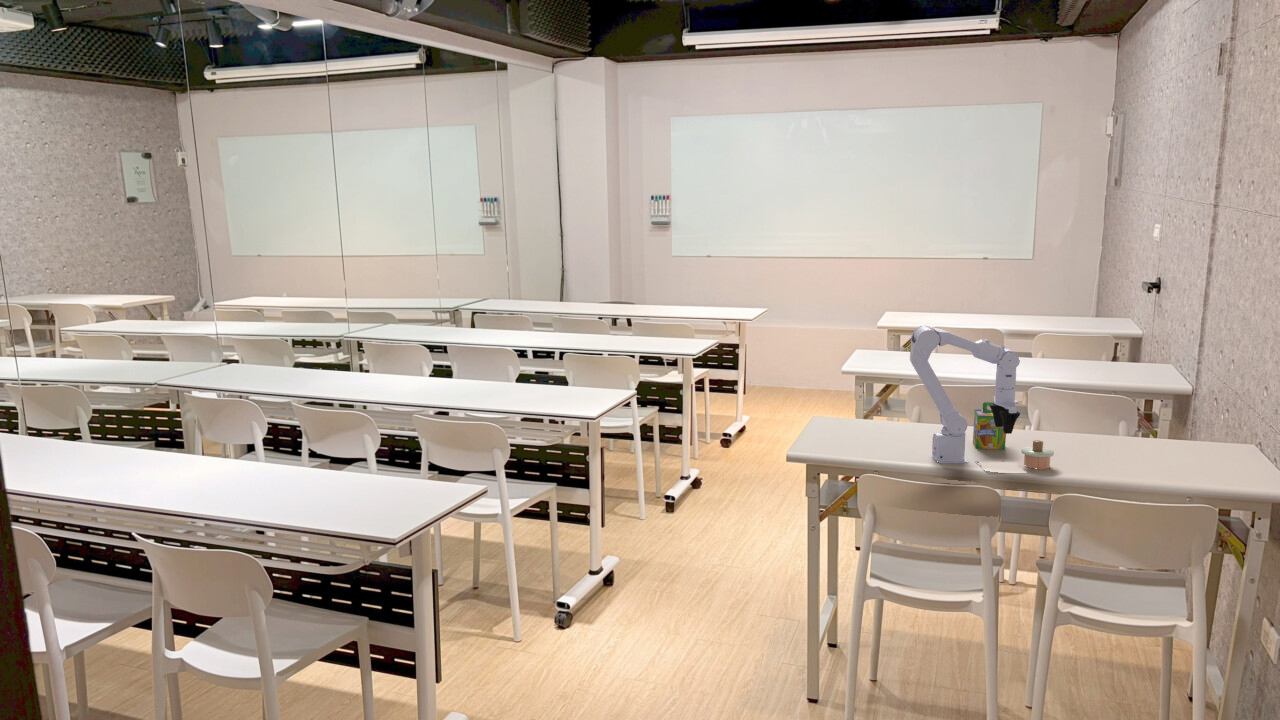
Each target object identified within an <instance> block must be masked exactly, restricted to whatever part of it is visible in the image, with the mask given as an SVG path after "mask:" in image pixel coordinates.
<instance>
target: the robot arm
mask: <svg viewBox="0 0 1280 720" xmlns="http://www.w3.org/2000/svg"><path fill="white" fill-rule="evenodd" d="M947 345H950V346H952V347H957V348H959V349H962V350H966V351H969V352H971V354H972V356H973V357H974V358H976V359H979V360H982V361H985V362H988V363H990V364H993V365H995V364H996V372H995V387H994V388H995V390H994V395H993V396H992V402H994V404H989V406H988V407H989V408H990V410H992V413H993V417H994V422H995V426H996V427H1003V431H1004V433H1005V434H1006V435H1007V434H1010V435H1011V434H1013V433H1012V432H1013V430H1014V427H1015V424H1016V422H1017V420H1018V419H1019V417H1020V415H1021V412H1020V411H1017V410H1018V409H1017V406H1016V405H1018V404H1020V402H1019V400H1016V386H1017V385H1016V383H1017V367H1018V366H1019V365H1020V363H1021V360H1020V358H1019V355H1018V354H1017V352H1015V351H1013V350H1012V349H1010V348H1008V347H1007V346H1005V345H998V344H995V343H992V342H991V340H989V339H986V338H985V339H979V340H977V341H973V340H971V339H968V338H966V337H963V336H960V335H958V334H955V333H953V332H950V331H948V330H944V329H941V328H938V327H932V328H931V327H930V326H928V325H925V324H923V325H919V326H918V327H916V328H915V329H914V330H913V333H912V334H911V337H910V351H909V361H910V363H911V365H912V367H913V368H914V370H915V372H916V374H917V375H918V378H919V379H920V381H921V383H922V384H923V387H924V388H925V389H926V391H927V393H928V395H929V397H930V398H931V400H932V402H933V403H934V406H935V407H936V408H937V409H936V410H937V411H938V413H939V416H940V423H941V424H942V426H943V427H942V428H941V429H940V432H936V433H933V436H932V442H931V443H932V445H931V446H932V449H931V450H932V451H931V455H932V456H933V457H932V456H931V457H932V458H933V459H934V461H935V462H936V461H938V462H939V463H938V464H969V462H970V461H968V460H967V458H966V457H965V455H966V452H965V451H966V450H965V449H966V431H967V429H968V422H967V420H966V419H965V417H964V416H962V414H961V413H960V412H959V411H958V410H957V409H956V407H955V405H954V404H953V402H952V401H951V399H950V397H949V396H948V394H947V393H946V390H945V389H944V387H943V385H942V384H941V381H940V379H939V378H938V377H937V375H936V373H935V371H934V370H933V367H932V366H931V364H930V362H929V359H930V356H931V355H932V353H933V351H935V349H936V348H937V347H938V346H939V347H944V346H947Z"/></svg>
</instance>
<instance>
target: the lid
mask: <svg viewBox="0 0 1280 720" xmlns="http://www.w3.org/2000/svg"><path fill="white" fill-rule="evenodd" d="M1020 450H1021V453H1022V454H1023V455H1024V456H1025V455H1028V456H1032V457H1050V458H1052V457H1054V456H1055V455H1054V454H1055V452H1054V450H1052V449H1050V448H1047V447H1044V441H1042V440H1041V439H1040V440H1038V439H1034V440H1032V446H1025V447H1022V448H1021V449H1020Z"/></svg>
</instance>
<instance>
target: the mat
mask: <svg viewBox="0 0 1280 720" xmlns="http://www.w3.org/2000/svg"><path fill="white" fill-rule="evenodd" d="M976 462H977V463H979V461H976ZM977 463H976V464H977ZM983 471H984V472H985V473H986V474H987V475H1007V474H1006V473H1005V474H1004V473H998V472H990V471H985V470H983Z"/></svg>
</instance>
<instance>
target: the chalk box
mask: <svg viewBox="0 0 1280 720" xmlns="http://www.w3.org/2000/svg"><path fill="white" fill-rule="evenodd" d="M989 404H994V402H993V401H991V402H990V401H988V402H987V401H984V402H983V403H982V409H974V412H973V430H972V431H973V432H972V433H973V435H972V444H973V445H974V448H975V450H976V449H977V450H994V451H995V450H998V451H1002V450H1003V451H1004V450H1006V438H1007V434H1005V433H1004V431H1003V427H996V426H995V422H994V417H993V413H992V410H991V409H988V407H990V406H989Z"/></svg>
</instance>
